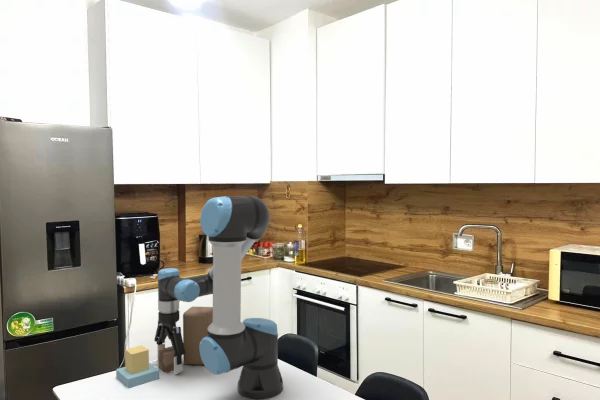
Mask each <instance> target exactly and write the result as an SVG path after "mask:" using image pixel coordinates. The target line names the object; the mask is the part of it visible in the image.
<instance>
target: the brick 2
mask: <svg viewBox="0 0 600 400" xmlns="http://www.w3.org/2000/svg"><path fill="white" fill-rule="evenodd" d="M174 355H175V353H174V350H173V347H172V345H171V346H167V347H165V348H163V349H160V350H158V351H157V363H158V364H157V365H158V367H157V369H159V371H161V372H163V373H164V374H169V373H171V372H172V373H173V372H174Z"/></svg>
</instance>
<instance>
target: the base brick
mask: <svg viewBox="0 0 600 400" xmlns="http://www.w3.org/2000/svg"><path fill="white" fill-rule="evenodd" d="M115 375H116V380H118V381H119V382H121V383H122V384H123V385H124V386H125V387H126V388H127V389H130V388H133V387H136V386H137V387H138V386H139V385H143V384H146V383H149V382H152V381H155V380H159V379H160V369H159V368H158V367H156V366H155V365H153V364H152V363H150V362H149V370H145V371H142V372H139V373H135V374H131V373H130V372H128V371H127V370H126V369H125V366H122V367H119V368H116V371H115Z"/></svg>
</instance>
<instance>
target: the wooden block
mask: <svg viewBox="0 0 600 400" xmlns="http://www.w3.org/2000/svg"><path fill="white" fill-rule="evenodd" d="M212 322H213V306H191V307H189V308H188V309H187V310H185V312H183V315H182V340H183V344H184V349H185V354H184V355H182V357H183V358H182V363H183V364H184V365H196V366H197V365H199V366H205V365H204V363H203V361H202V359H201V356H200V351H199V345H200V342H201V340H202V339H203V338H204V337H207V329H208V326H209V325H210V324H211V323H212Z"/></svg>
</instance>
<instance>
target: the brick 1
mask: <svg viewBox="0 0 600 400" xmlns="http://www.w3.org/2000/svg"><path fill="white" fill-rule="evenodd" d="M124 351H125V352H124V360H125V361H124V362H125V366H124V367H125V369H126V370H127V371H128V372H130V373H131V374H135V373H139V372H142V371H145V370H149V363H150V361H149V360H150V356H149V355H150V354H149V353H150V352H149V351H150V350H149V349H148V348H146V347H145V346H144V345H137V346H134V347H130V348H126V349H124Z"/></svg>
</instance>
